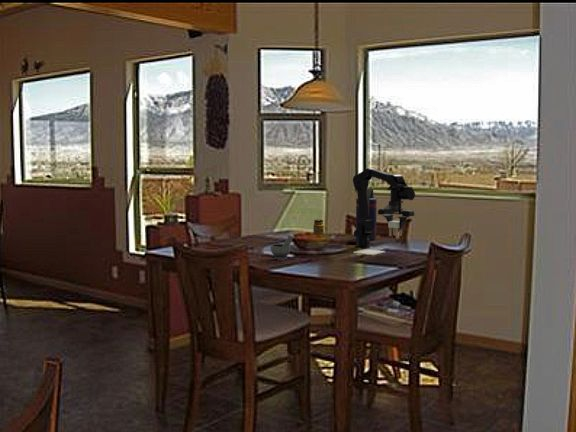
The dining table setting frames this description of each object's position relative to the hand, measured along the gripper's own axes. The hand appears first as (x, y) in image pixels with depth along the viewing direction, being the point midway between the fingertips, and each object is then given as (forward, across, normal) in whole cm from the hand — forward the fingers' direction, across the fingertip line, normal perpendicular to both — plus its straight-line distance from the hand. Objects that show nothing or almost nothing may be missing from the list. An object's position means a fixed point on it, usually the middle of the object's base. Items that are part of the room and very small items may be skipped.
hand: (395, 229), depth 360 cm
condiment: (+12, -58, +9) cm, 60 cm away
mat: (+12, -10, -9) cm, 18 cm away
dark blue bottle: (+12, -38, +30) cm, 50 cm away
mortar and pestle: (+12, -32, -53) cm, 63 cm away
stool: (+4, 0, 0) cm, 4 cm away
